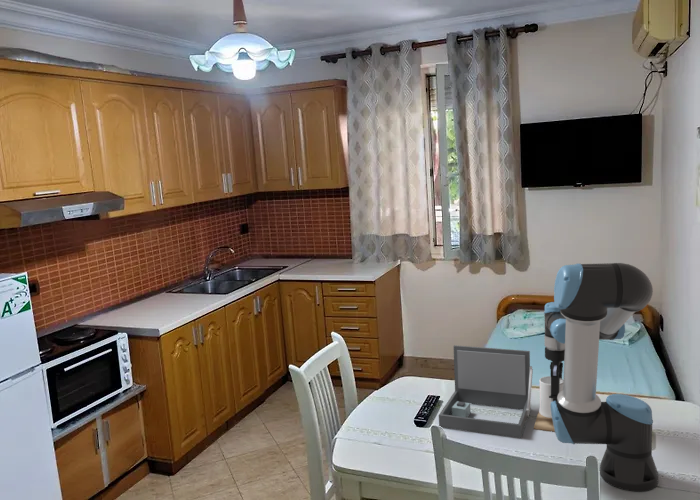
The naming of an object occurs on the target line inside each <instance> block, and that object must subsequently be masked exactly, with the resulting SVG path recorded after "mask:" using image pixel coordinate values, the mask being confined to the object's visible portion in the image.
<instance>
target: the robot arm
mask: <svg viewBox="0 0 700 500" xmlns="http://www.w3.org/2000/svg"><path fill="white" fill-rule="evenodd" d="M553 286H554V287H553V288H554V289H553V292H554V295H553V300H554V301H551V302H547V303H545V305H544V311H543V315H544V358H545V359H546V360H548V361H550V364H549V369H550V375H549V376H551V396H549V398H551V416H552V420H553V425H554V429H555V432H554V433H555V437H556V439H557V440H558V441H559V442H560V443H563V444H571V445H577V444H578V445H606V449H605V451H604V454H603V457H602V459H601V460H600V461H601V462H600V465H599V476H600V477H601V479H603V481H604V482H606V483H607V484H609V485H611V486H612V487H615V488H618V489H621V490H625V491H631V492H646V491H650V490H654V489H656V487H657V486H658V485H659V472H658V469H657V467H656V464H655V460H654V457H653V455H652V454H653V452H652V451H653V449H652V448H653V423H654V420H653V411H652V407H651V406H650V405H649V404H648V403H647V402H645V401H644V400H643V399H640V398H637V397H635V396H631V395H628V394H623V393H622V394H621V393H612V394H609V395H607V397H606V399H605V401H602V400H601V398H600V397H599V395H597V383H598V382H597V379H598V368H599V367H598V366H599V363H598V362H599V347H600V346H599V345H600V341H602V340H605V341H606V340H607V341H614V340H621V339H623V338H624V337H625V333H626V324H625V323H626V322H628V320H629V319H630V318H631V317H632V315H634V314H635V313H636V312H639V311H641V310H643V309H645V308H646V307H647V306H648V304H649V303H650V302H651V300H652V297H653V292H654V291H653V290H654V289H653V285H652V282H651V280H650V278H649V277H648V276H647V274H646V273H645V272H644V271H643V270H641V269H639V268H638V267H636V266H634V265H631V264H629V263H624V262H612V263H611V262H610V263H605V262H604V263H574V264H566V265H562V266H561V267H560V268H559V270H558V271H557V273H556V276H555V279H554V285H553ZM560 378H561V379H563V380H564V381H563V390H562V391H561V392H560V393H559V386H560Z"/></svg>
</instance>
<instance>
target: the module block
mask: <svg viewBox="0 0 700 500" xmlns="http://www.w3.org/2000/svg"><path fill="white" fill-rule="evenodd" d="M451 415H452V416H459V417H467V418H469V416H470V415H471V404H470V403H465V402H459V401H457V402H456V403H455V404H454V405H453V406H452V412H451Z"/></svg>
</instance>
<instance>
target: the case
mask: <svg viewBox="0 0 700 500" xmlns="http://www.w3.org/2000/svg"><path fill="white" fill-rule="evenodd" d="M530 355H531V351H530V350H524V349H523V350H520V349H510V348H509V349H508V348H497V347H496V348H495V347H482V346H470V345H468V346H467V345H455V344H454V345H453V370H454V372H453V373H454V375H453V376H454V392H453V393H452V395H451V396H450V398H449V399H448V401H447V402H446V404H445V405H444V407H443V408H442V409H441V411H440V412H439V414H438V427H439V426H441V427H443V428H442V429H450V430H456V431H464V432H470V433H471V432H472V433H478V434H479V433H480V434H487V435H492V436H501V437H508V438H517V439H522V436H523V434H524V431H525V428H526V425H527V421H528V418H529V415H530V413H531V409H532V408H531V406H532V405H531V403H532V402H531V400H532V387H533V384H532V383H533V370H534V369H533V366H532V365H531V356H530ZM457 401H459V402H465V403H472V404H471V405H478V406H486V407H494V408H505V409H511V410H512V409H514V410H520V409H523V410H522V412H521V415H520V418H519V421H518V423H514V422H513V423H512V422H507V421H498V420H490V419H481V418H476V417H475V418H473V417H459V416H452V406H453V405H454V404H455V403H456V402H457ZM441 427H440V428H441Z"/></svg>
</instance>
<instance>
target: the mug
mask: <svg viewBox="0 0 700 500" xmlns="http://www.w3.org/2000/svg"><path fill="white" fill-rule="evenodd" d="M563 381H564V378H562V379H561V378H560V386H559V393H560V392H561V391H562V390H563ZM549 396H551V376H550V375H548V376H542V377H541V378H539V410H538V412H539V413H540V414H541V415H542V416H544V417H548V418H552V416H551V398H549Z"/></svg>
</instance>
